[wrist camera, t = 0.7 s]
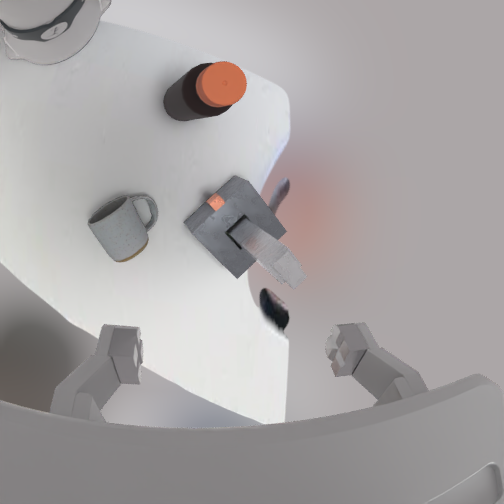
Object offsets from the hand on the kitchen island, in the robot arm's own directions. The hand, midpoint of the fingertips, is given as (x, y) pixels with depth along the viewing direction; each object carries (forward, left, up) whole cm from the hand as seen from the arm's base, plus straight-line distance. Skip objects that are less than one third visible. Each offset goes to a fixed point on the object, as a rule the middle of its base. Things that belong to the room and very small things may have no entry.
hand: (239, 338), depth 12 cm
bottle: (-9, +11, -41) cm, 44 cm away
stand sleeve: (+14, +10, -41) cm, 44 cm away
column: (+14, +10, -41) cm, 44 cm away
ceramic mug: (+4, -6, -41) cm, 42 cm away
